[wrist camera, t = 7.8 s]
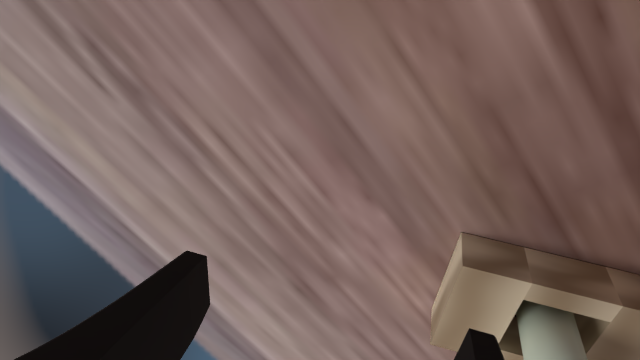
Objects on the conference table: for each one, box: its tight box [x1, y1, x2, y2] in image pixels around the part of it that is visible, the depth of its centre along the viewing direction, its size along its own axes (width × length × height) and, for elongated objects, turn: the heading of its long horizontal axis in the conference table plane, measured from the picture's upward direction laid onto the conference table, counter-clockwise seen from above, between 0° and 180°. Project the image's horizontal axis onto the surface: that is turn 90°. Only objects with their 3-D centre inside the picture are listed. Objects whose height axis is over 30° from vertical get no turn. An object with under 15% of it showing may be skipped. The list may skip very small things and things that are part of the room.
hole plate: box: [430, 232, 640, 360], centre depth 21 cm, size 10×6×2 cm, turn 84°
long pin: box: [516, 300, 588, 360], centre depth 19 cm, size 3×3×8 cm
